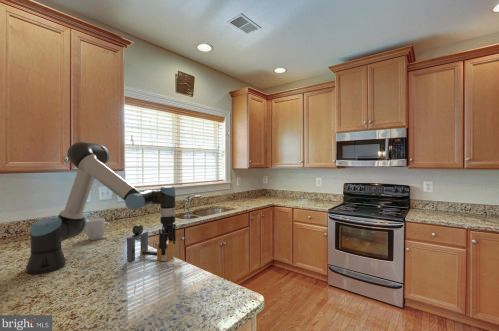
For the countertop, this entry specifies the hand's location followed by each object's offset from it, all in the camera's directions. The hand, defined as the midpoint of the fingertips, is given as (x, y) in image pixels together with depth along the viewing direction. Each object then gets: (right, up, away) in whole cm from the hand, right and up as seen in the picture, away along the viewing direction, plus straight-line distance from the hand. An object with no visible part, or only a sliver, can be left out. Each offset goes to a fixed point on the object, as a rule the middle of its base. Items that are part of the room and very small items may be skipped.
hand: (167, 258), depth 132 cm
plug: (-7, 0, +1) cm, 7 cm away
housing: (-18, 0, +3) cm, 18 cm away
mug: (-60, -1, +36) cm, 71 cm away
